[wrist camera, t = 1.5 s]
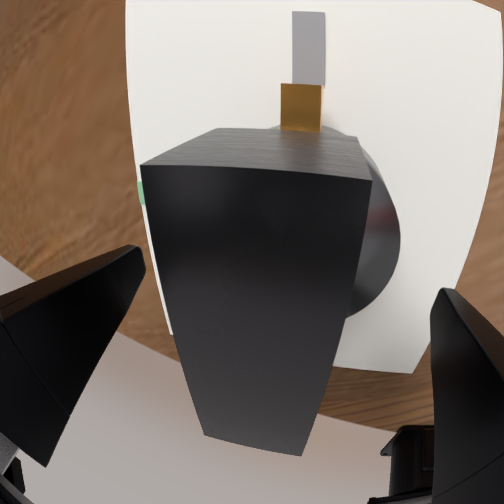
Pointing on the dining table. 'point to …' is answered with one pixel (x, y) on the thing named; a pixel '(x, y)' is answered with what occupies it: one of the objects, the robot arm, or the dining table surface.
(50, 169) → the dining table surface
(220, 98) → the lock base plate
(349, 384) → the dining table surface
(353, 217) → the black rotary knob
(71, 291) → the robot arm
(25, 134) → the dining table surface
